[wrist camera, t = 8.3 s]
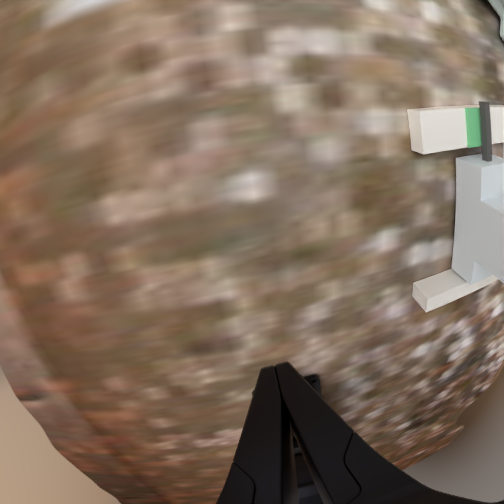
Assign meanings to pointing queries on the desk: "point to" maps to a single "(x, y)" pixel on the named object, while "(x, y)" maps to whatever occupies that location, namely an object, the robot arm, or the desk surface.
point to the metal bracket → (499, 13)
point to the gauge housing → (442, 139)
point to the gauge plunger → (479, 211)
